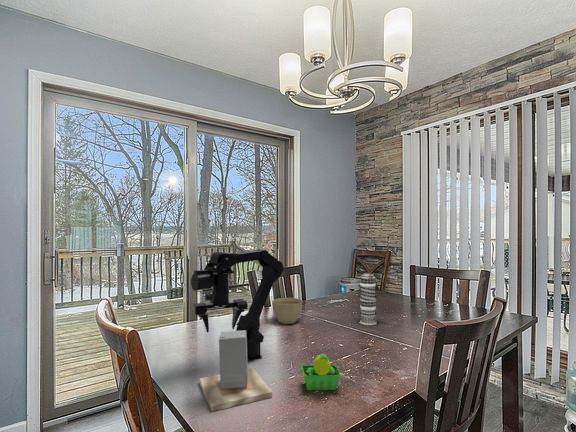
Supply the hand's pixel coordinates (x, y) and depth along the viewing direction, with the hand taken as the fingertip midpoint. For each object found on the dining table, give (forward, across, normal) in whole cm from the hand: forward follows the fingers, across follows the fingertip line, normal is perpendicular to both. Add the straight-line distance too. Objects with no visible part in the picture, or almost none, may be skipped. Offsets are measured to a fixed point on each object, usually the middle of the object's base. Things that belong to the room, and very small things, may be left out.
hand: (220, 330), depth 119 cm
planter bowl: (+13, -45, -40) cm, 62 cm away
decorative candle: (+13, -82, -20) cm, 85 cm away
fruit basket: (+13, -25, +28) cm, 40 cm away
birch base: (+13, 0, +18) cm, 22 cm away
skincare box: (+12, 0, +18) cm, 21 cm away
